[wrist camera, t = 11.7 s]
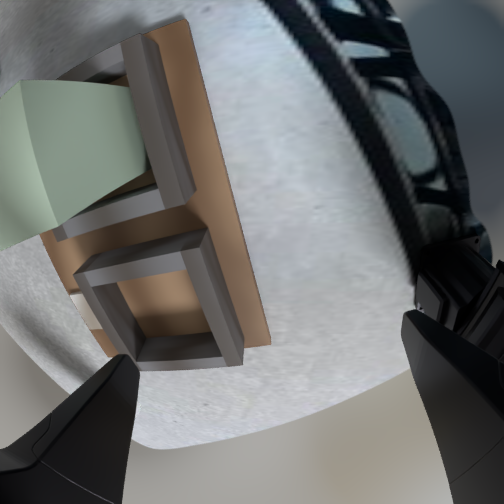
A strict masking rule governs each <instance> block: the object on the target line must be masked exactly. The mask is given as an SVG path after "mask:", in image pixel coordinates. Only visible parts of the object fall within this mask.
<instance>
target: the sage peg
mask: <svg viewBox="0 0 504 504" xmlns="http://www.w3.org/2000/svg"><path fill="white" fill-rule="evenodd" d="M150 169H152V167H151V164H150V160H149V157H148V154H147V150H146V147H145V143H144V140H143V136H142V133H141V129H140V125H139V122H138V118H137V114H136V110H135V106H134V102H133V98H132V94H131V90H130V87H124V86H116V85H108V84H100V83H89V82H77V81H60V80H19V81H18V82H17V83H16V84H15V85H14V86H13V87H11V88H10V89H9V90H8V91H7V92H6V93H5V94H4V95H3V96H2V97H1V98H0V251H2V250H4V249H6V248H8V247H11V246H13V245H15V244H17V243H20V242H22V241H24V240H26V239H29V238H31V237H33V236H36V235H38V234H41V233H43V232H46V231H48V230H51V229H53V228H56V227H58V226H60V225H61V224H63V223H64V222H65V221H67V220H68V219H70V218H71V217H73V216H74V215H76V214H77V213H79V212H80V211H82V210H83V209H85V208H86V207H88V206H89V205H91V204H92V203H94V202H96V201H97V200H99V199H100V198H102V197H104V196H105V195H107V194H108V193H110V192H112V191H113V190H115V189H117V188H118V187H120V186H122V185H123V184H125V183H127V182H129V181H130V180H132V179H134V178H136V177H137V176H139V175H141V174H143V173H145V172H147V171H148V170H150Z"/></svg>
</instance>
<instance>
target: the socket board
mask: <svg viewBox="0 0 504 504" xmlns="http://www.w3.org/2000/svg"><path fill="white" fill-rule="evenodd" d="M56 80H60V81H77V82H89V83H100V84H108V85H116V86H124V87H130V90H131V94H132V98H133V102H134V106H135V110H136V114H137V118H138V122H139V125H140V129H141V133H142V136H143V140H144V143H145V147H146V150H147V154H148V157H149V160H150V164H151V167H152V169H150V170H148V171H147V172H145V173H143V174H141V175H139V176H137V177H136V178H134V179H132V180H130V181H129V182H127V183H125V184H123V185H122V186H120V187H118V188H117V189H115V190H113V191H112V192H110V193H108V194H107V195H105V196H104V197H102V198H100V199H99V200H97V201H96V202H94V203H92V204H91V205H89V206H88V207H86V208H85V209H83V210H82V211H80V212H79V213H77V214H76V215H74V216H73V217H71V218H70V219H68V220H67V221H65V222H64V223H63V224H61V225H60V226H58V227H56V228H53V229H51V230H48V231H46V232H43V233H41V234H39V235H40V237H41V239H42V242H43V244H44V246H45V248H46V251H47V253H48V255H49V257H50V259H51V261H52V263H53V265H54V267H55V269H56V271H57V273H58V275H59V277H60V279H61V281H62V283H63V285H64V287H65V289H66V291H67V292H68V294H69V296H70V298H71V300H72V301H73V303H74V305H75V307H76V308H77V310H78V312H79V313H80V315H81V317H82V318H83V320H84V322H85V323H86V325H87V326H88V328H89V330H90V331H91V333H92V334H93V336H94V337H95V339H96V340H97V342H98V343H99V345H100V346H101V348H102V349H103V351H104V352H105V353H106V355H107V356H108V357H114V356H116V355H117V354H128V355H129V356H130V357H131V359H132V360H133V362H134V363H135V364H136V366H137V367H138V369H139V371H173V370H193V369H207V368H219V367H230V366H240V365H243V354H244V348H250V347H258V346H265V345H271V336H270V332H269V329H268V325H267V321H266V317H265V314H264V310H263V306H262V302H261V299H260V295H259V291H258V287H257V284H256V280H255V276H254V272H253V269H252V265H251V261H250V257H249V253H248V250H247V246H246V242H245V238H244V234H243V231H242V227H241V223H240V219H239V216H238V212H237V208H236V204H235V200H234V196H233V193H232V189H231V185H230V181H229V177H228V174H227V170H226V166H225V162H224V158H223V154H222V151H221V147H220V143H219V139H218V135H217V131H216V127H215V124H214V120H213V116H212V112H211V108H210V104H209V100H208V97H207V93H206V89H205V85H204V81H203V77H202V73H201V69H200V65H199V62H198V58H197V54H196V50H195V46H194V42H193V38H192V34H191V30H190V26H189V22H188V21H187V20H186V19H183V20H180V21H177V22H174V23H172V24H169V25H166V26H163V27H161V28H158V29H156V30H153V31H151V32H148V33H146V34H143V35H142V34H140V33H139V34H137V35H135V36H133V37H130V38H128V39H126V40H124V41H122V42H120V43H118V44H116V45H114V46H112V47H110V48H108V49H106V50H104V51H102V52H100V53H98V54H97V55H95V56H93V57H91V58H90V59H88V60H86V61H84V62H83V63H81V64H79V65H78V66H76V67H74V68H73V69H71V70H70V71H68V72H67V73H65V74H64V75H62V76H61V77H59V78H58V79H56Z"/></svg>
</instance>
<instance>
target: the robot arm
mask: <svg viewBox="0 0 504 504" xmlns="http://www.w3.org/2000/svg"><path fill="white" fill-rule="evenodd" d="M480 240H481V238H480V236H478V235H477V234H473V235H468V236H464V237H460V238H456V239H452V240H448V241H443V242H439V243H435V244H430V245H426V246H424V247H423V248H422V250H421V260H420V272H419V274H418V280H417V289H416V306H415V307H416V309H414V310H410V311H406V312H405V313H404V314H403V320H402V328H401V338H402V341H403V344H404V347H405V351H406V354H407V357H408V361H409V364H410V368H411V371H412V375H413V378H414V381H415V384H416V386H417V389H418V391H419V394H420V396H421V399H422V401H423V404H424V407H425V409H426V412H427V415H428V417H429V420H430V423H431V426H432V429H433V432H434V435H435V438H436V441H437V444H438V447H439V451H440V454H441V457H442V460H443V464H444V467H445V471H446V475H447V478H448V482H449V486H450V490H451V495H452V498H453V503H454V504H504V262H503V261H501V260H498V262H497V264H496V268H494V267H493V266H492V265H491V264H490V263H489V262H488V261H487V260H486V259H484V258H483V257H482V256H481V255H480V254H479V247H480ZM428 250H429V251H428ZM427 251H428V253H427V254H426V252H427ZM423 311H425V313H426V314H427V315H426V314H424V313H422V312H423ZM139 379H140V372H139V369H138V367H137V366H136V364H135V363H134V362H133V360H132V359H131V357H130V356H129V355H128V354H117V355H116V356H114V357H113V358H112V359H111V360H110V361H109V362H108V363H106V364H105V365H104V366H103V367H102V368H101V369H100V370H98V371H97V372H96V373H95V374H94V375H93V376H92V377H90V378H89V379H88V380H87V381H86V382H85V383H84V384H82V385H81V386H80V387H79V388H78V389H77V390H76V391H74V392H73V393H72V394H71V395H70V396H69V397H68V398H67V399H65V400H64V401H63V402H62V403H61V404H60V405H59V406H58V407H56V408H55V409H54V410H53V411H52V413H50V414H49V415H47V416H46V417H45V418H44V419H43V420H42V421H41V422H40V423H38V424H37V425H36V426H35V427H33V428H32V429H31V430H30V431H28V432H27V433H26V434H24V435H23V436H22V437H20V438H19V439H18V440H16V441H15V442H14V443H12V444H11V445H9V446H8V447H6V448H3V449H0V504H122V498H123V489H124V481H125V474H126V467H127V461H128V454H129V448H130V442H131V437H132V431H133V426H134V420H135V415H136V408H137V398H138V388H139Z"/></svg>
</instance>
